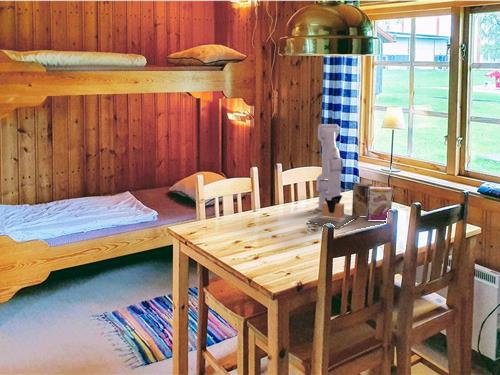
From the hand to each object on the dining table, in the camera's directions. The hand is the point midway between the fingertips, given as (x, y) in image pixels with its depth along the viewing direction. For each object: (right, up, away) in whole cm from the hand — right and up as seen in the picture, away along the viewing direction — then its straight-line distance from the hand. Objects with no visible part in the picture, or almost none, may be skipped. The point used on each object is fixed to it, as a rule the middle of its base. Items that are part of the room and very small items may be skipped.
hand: (333, 211), depth 273 cm
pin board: (0, -5, +1) cm, 5 cm away
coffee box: (+16, -3, +10) cm, 19 cm away
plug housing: (0, -2, +1) cm, 2 cm away
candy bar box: (+22, -5, +2) cm, 23 cm away
